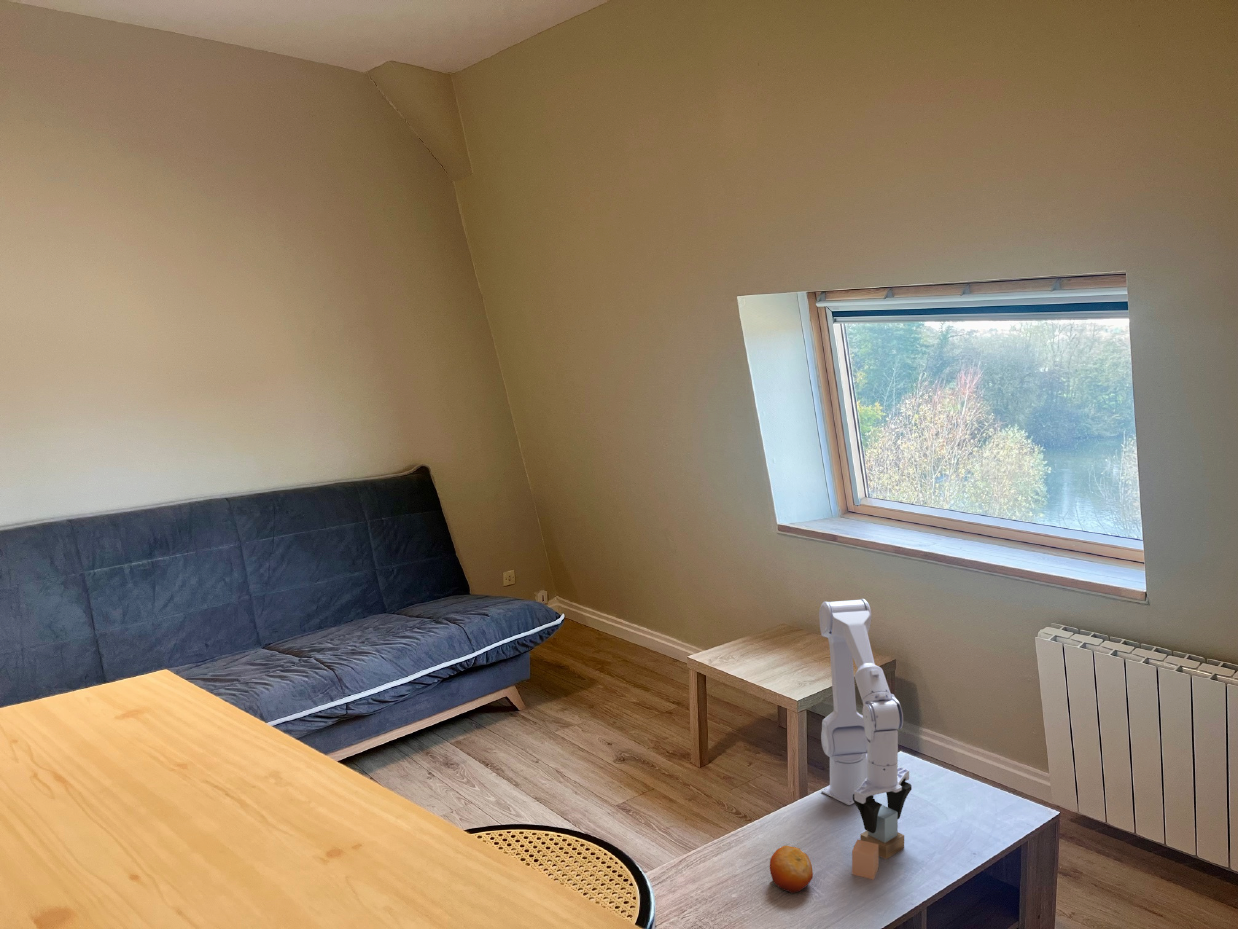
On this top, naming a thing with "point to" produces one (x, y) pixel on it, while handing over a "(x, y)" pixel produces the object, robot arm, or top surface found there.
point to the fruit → (790, 869)
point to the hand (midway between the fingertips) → (882, 824)
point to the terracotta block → (865, 859)
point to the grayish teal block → (886, 824)
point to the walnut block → (885, 844)
